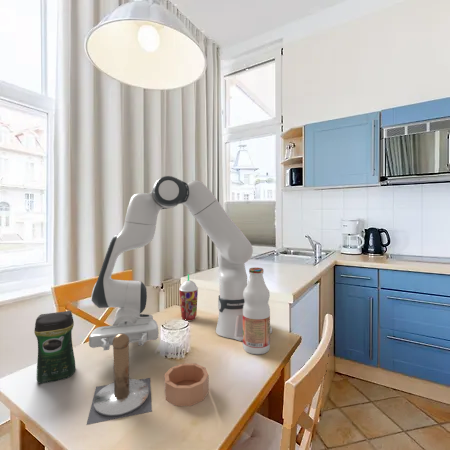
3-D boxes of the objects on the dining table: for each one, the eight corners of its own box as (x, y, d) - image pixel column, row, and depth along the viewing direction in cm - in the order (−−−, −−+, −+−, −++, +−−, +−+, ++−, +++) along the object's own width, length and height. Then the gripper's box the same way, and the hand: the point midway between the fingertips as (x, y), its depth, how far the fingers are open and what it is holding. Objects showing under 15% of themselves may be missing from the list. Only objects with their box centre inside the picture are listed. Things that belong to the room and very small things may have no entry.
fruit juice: (252, 358, 91) (253, 272, 89) (237, 345, 99) (237, 267, 98) (275, 350, 95) (275, 269, 94) (259, 339, 103) (259, 265, 102)
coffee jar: (77, 365, 86) (75, 306, 86) (73, 379, 79) (71, 315, 78) (40, 372, 83) (38, 310, 82) (33, 387, 76) (30, 320, 75)
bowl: (202, 377, 80) (202, 360, 80) (212, 403, 69) (212, 384, 69) (163, 384, 77) (163, 366, 77) (167, 412, 66) (166, 392, 66)
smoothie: (197, 322, 120) (196, 276, 119) (177, 322, 120) (177, 276, 119) (199, 315, 128) (198, 272, 128) (181, 315, 129) (180, 272, 128)
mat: (150, 379, 79) (150, 377, 79) (151, 413, 66) (151, 411, 66) (96, 388, 75) (96, 386, 75) (86, 427, 62) (86, 424, 62)
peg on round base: (148, 379, 78) (147, 321, 78) (149, 410, 66) (148, 342, 65) (97, 387, 75) (96, 327, 74) (89, 422, 62) (87, 350, 61)
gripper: (92, 321, 90) (83, 339, 77) (156, 314, 96) (159, 330, 83) (92, 340, 91) (84, 361, 78) (157, 332, 97) (159, 350, 83)
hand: (123, 345), depth 80 cm, fingers open, 8 cm apart
